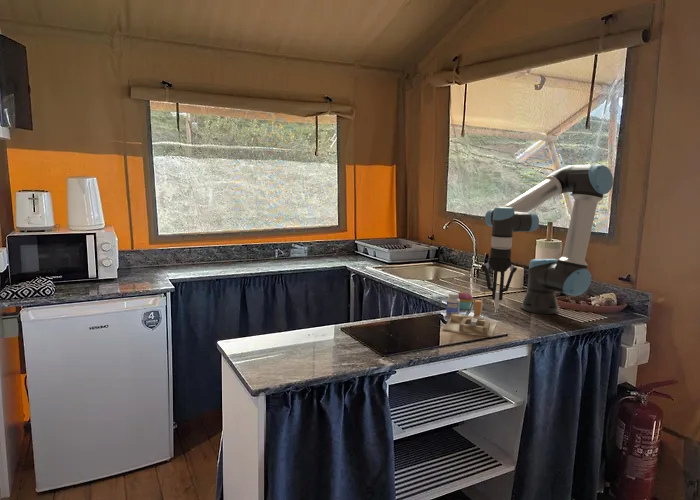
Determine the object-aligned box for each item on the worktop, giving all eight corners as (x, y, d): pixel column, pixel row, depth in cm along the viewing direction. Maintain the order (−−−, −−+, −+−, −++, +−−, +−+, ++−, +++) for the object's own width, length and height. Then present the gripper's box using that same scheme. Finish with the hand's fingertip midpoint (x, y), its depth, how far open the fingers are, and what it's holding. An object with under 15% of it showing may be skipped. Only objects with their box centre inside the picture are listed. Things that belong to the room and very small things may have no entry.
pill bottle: (449, 313, 206) (451, 291, 204) (461, 316, 203) (462, 293, 201) (443, 316, 202) (444, 293, 200) (455, 318, 198) (456, 295, 197)
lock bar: (480, 316, 190) (482, 300, 189) (476, 326, 177) (477, 309, 176) (474, 315, 191) (475, 299, 190) (469, 325, 178) (470, 308, 177)
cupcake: (458, 311, 210) (460, 284, 208) (449, 306, 218) (450, 280, 216) (476, 310, 212) (477, 283, 211) (466, 305, 220) (468, 279, 219)
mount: (496, 325, 191) (496, 317, 191) (492, 337, 176) (492, 329, 175) (450, 319, 198) (450, 311, 197) (442, 330, 182) (443, 322, 182)
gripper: (519, 247, 184) (514, 307, 188) (484, 245, 189) (480, 303, 192) (518, 250, 177) (513, 312, 181) (482, 247, 182) (477, 308, 185)
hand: (496, 308), depth 186 cm, fingers closed
